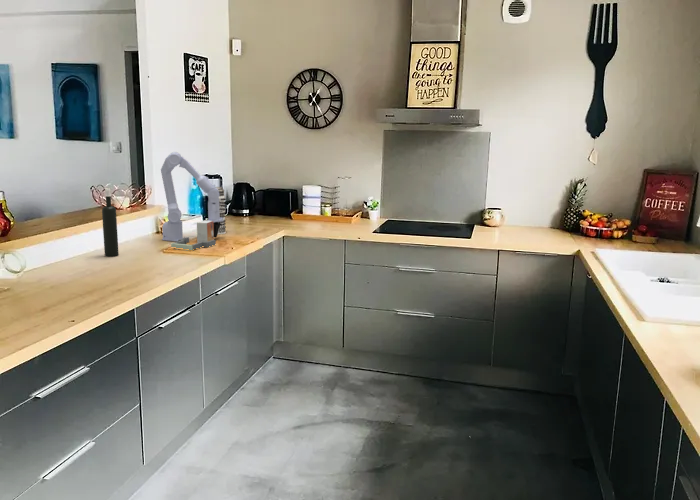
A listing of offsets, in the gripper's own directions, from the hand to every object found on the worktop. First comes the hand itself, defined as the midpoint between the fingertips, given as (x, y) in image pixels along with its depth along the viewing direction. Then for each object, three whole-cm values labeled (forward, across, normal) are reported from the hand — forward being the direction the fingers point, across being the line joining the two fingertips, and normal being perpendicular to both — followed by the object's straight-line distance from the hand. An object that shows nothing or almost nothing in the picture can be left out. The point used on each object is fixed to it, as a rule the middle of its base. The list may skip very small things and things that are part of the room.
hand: (214, 237), depth 306 cm
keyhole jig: (+1, -21, 0) cm, 21 cm away
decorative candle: (+1, +16, +7) cm, 17 cm away
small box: (+1, -8, 0) cm, 8 cm away
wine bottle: (+1, -52, +21) cm, 56 cm away
